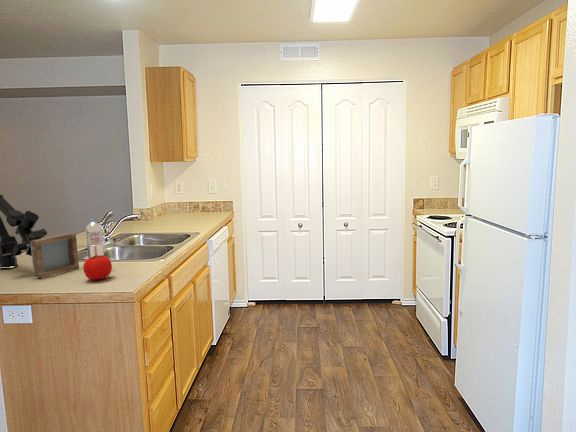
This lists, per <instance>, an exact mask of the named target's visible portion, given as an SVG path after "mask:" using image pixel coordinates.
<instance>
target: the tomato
mask: <svg viewBox="0 0 576 432" xmlns="http://www.w3.org/2000/svg"><path fill="white" fill-rule="evenodd" d="M103 255H104V254H103ZM103 255H99V256H97V254H96V255H95V256H92V257H90V258H88V257H87V259H86V260H85V261H84V263H83V265H82V266H83V273H84V275H85V276H86V278H87V279H88V280H92V281H97V280H99V281H100V280H103V279H106V278H107V277H109V275H110V274H111V273H112V271H113V265H112V262H111V260H110V259H109V257H108V256H105V255H104V256H103Z"/></svg>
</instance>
